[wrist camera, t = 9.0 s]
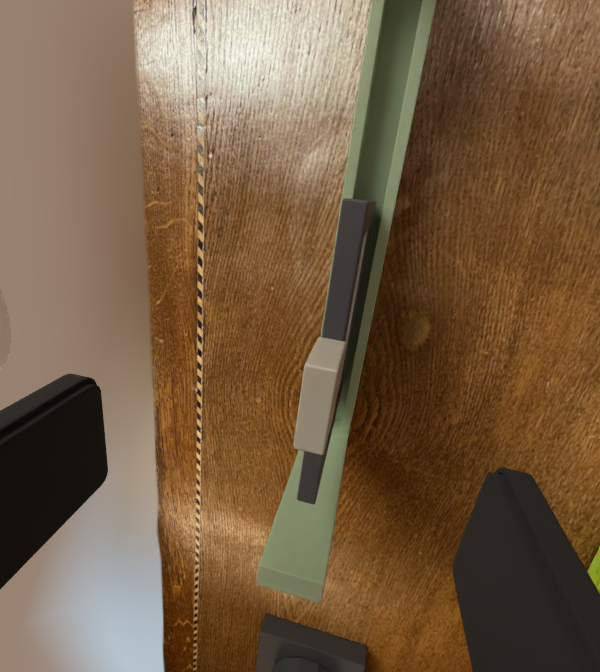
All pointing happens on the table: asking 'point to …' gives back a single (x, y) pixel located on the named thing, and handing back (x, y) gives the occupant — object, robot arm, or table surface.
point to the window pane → (332, 345)
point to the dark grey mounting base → (305, 649)
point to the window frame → (381, 186)
